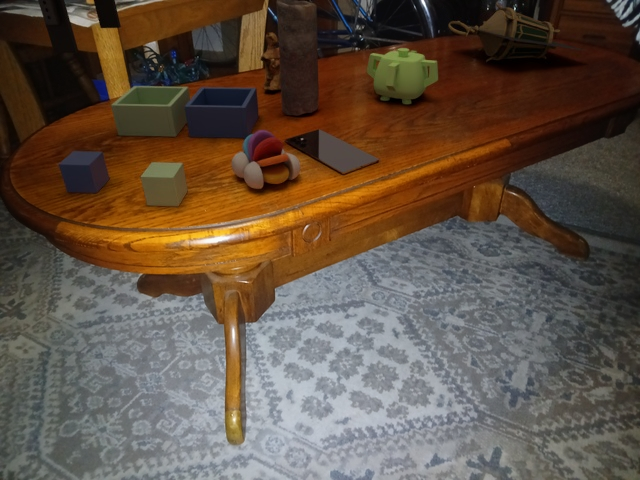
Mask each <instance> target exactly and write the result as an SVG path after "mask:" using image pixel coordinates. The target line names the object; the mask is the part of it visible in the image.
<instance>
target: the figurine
mask: <svg viewBox="0 0 640 480" xmlns="http://www.w3.org/2000/svg"><path fill="white" fill-rule="evenodd" d="M265 41H266V43H267V49H266V51H264V52H263V54H261V56H260V59H259V60H260V61H261V62H263V63H264V64H263V65H264V77H265V78H264V85H263V87H262V88H263V90H264V91H265V92H266V91H267V92H277V91H281V81H280V57H279V46H278V47H277V45H278V44H279V40H278V36H277V35H276V33H274V32H267V33H266V34H265Z"/></svg>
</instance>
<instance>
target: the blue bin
mask: <svg viewBox="0 0 640 480" xmlns="http://www.w3.org/2000/svg"><path fill="white" fill-rule="evenodd" d="M184 107H185V113H186V119H187V123H186V125H187V130H188V131H187V132H188V136H189V138H211V139H212V138H215V139H216V138H217V139H246V138H247V137H248V136H249V135H251V134H252V132H253V130H254V127H255V125H256V123H257V121H258V119H259V117H260V115H259V101H258V90H257V87H225V86H224V87H223V86H222V87H221V86H219V87H218V86H201V87H200V88H199V89H198V90H197V91H196V92H195V94H194V95H193V96H192V97H190V101H189V102H188V103H187V104H186V105H185V106H184Z"/></svg>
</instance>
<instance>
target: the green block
mask: <svg viewBox="0 0 640 480" xmlns="http://www.w3.org/2000/svg"><path fill="white" fill-rule="evenodd" d="M140 181H141V186H142V189H143V192H144V193H143V194H144V198H145V203H146V206H151V207H153V206H154V207H179V206H180V205H181V203H182V201H183V200H184V198H185V196H186V195H187V193H188V191H189V190H188V184H187V178H186V173H185V167H184V163H183V162H161V161H160V162H159V161H156V162H155V161H151V162H150V164H149V165H148V166H147V168H146V169H145V170H144V171H143V173H142V174H141V175H140Z"/></svg>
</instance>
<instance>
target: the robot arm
mask: <svg viewBox="0 0 640 480" xmlns="http://www.w3.org/2000/svg"><path fill="white" fill-rule="evenodd" d="M37 1H38V4H39V8H40V11H41V15H42V18H43V21H44V24H45V28H46V31H47V33H48V37H49V41H50V44H51V47H52V50H53V53H55V54H65V53H67V54H68V53H69V54H70V53H71V54H72V53H73V54H75V53H78V52H79V48H78V43H77V41H76V38H75V37H76V36H75V33H74V30H73V26H72V23H71V20H70V16H69V13H68V9H67V5H66V2H65V0H37ZM93 3H94V8H95V12H96V15H97V19H98V23H99V24H98V25H99V27H100V29H119V28H121V27H122V26H121V20H120V16H119V13H118V7H117V4H116V0H93Z"/></svg>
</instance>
